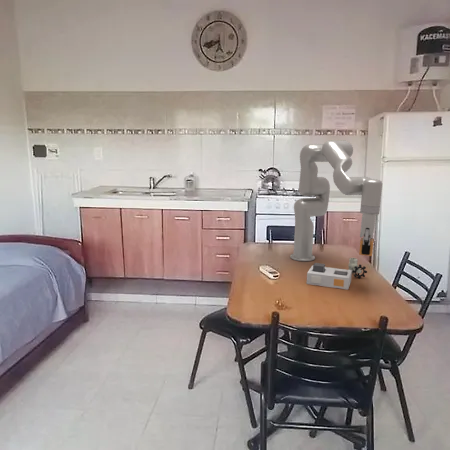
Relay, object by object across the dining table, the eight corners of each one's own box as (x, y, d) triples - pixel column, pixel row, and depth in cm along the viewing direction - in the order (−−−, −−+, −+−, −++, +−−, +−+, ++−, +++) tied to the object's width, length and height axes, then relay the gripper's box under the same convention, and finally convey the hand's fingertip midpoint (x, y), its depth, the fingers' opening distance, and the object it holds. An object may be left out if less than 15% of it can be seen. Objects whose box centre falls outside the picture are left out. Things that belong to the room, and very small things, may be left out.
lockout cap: (360, 251, 184) (361, 235, 183) (372, 253, 182) (374, 236, 181) (359, 254, 180) (360, 237, 178) (371, 256, 178) (373, 239, 176)
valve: (344, 270, 208) (352, 278, 196) (345, 257, 206) (353, 264, 195) (357, 270, 208) (366, 278, 196) (358, 257, 207) (367, 264, 195)
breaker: (314, 272, 194) (314, 262, 193) (324, 273, 192) (325, 264, 192) (312, 275, 190) (313, 265, 189) (322, 276, 188) (323, 266, 187)
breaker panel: (311, 275, 199) (312, 265, 198) (351, 281, 193) (351, 270, 192) (306, 284, 188) (307, 273, 186) (348, 289, 181) (349, 278, 180)
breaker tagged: (335, 280, 191) (336, 270, 190) (346, 281, 190) (346, 271, 189) (334, 283, 187) (334, 273, 186) (345, 284, 186) (345, 274, 185)
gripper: (362, 205, 186) (358, 246, 190) (358, 212, 170) (354, 256, 174) (380, 207, 183) (376, 248, 187) (378, 214, 168) (374, 259, 172)
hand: (365, 252), depth 181 cm, fingers closed on lockout cap, 4 cm apart
